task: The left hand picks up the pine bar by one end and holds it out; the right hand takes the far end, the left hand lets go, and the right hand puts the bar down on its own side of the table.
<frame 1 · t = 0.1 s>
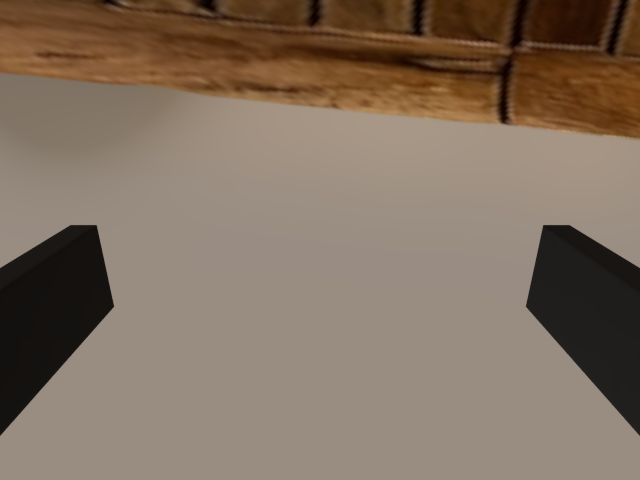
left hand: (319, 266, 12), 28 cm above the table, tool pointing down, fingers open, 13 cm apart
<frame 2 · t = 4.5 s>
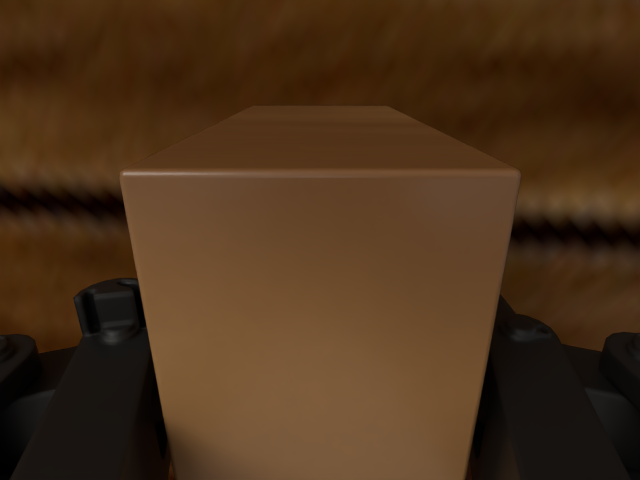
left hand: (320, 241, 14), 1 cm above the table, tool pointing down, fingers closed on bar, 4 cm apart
bar: (320, 415, 18), on the table, touching left hand
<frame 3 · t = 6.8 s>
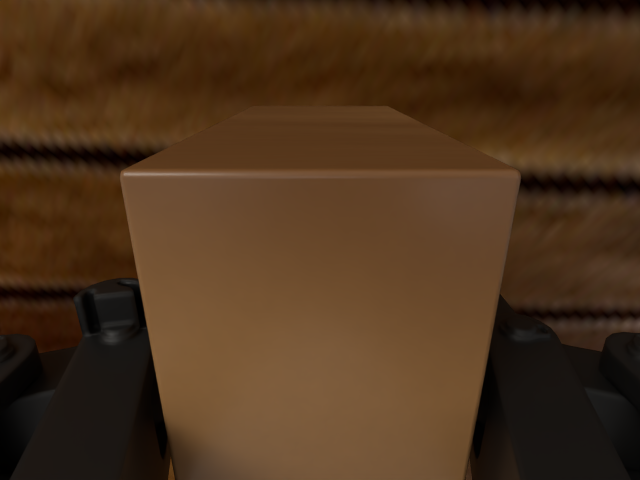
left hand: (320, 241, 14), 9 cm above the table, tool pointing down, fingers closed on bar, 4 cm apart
bar: (320, 415, 18), point 8 cm above the table, touching left hand
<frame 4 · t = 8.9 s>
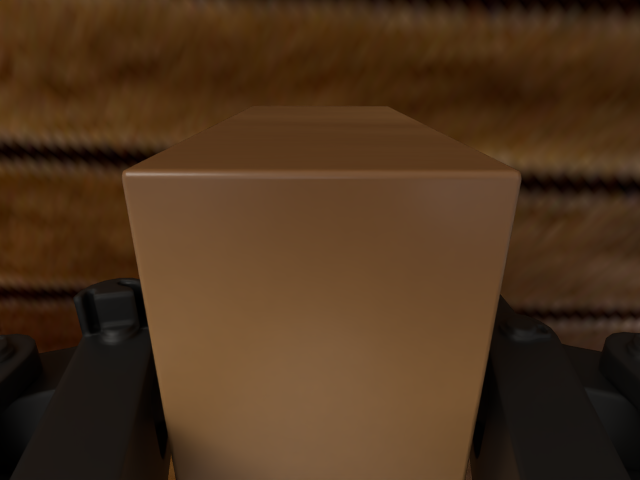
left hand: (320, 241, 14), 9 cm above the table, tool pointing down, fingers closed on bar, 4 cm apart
bar: (319, 415, 18), point 8 cm above the table, touching left hand, right hand
when the left hand's fingers open (9 cm above the table, at t = 9.6 s): bar stays where it is, held by the right hand.
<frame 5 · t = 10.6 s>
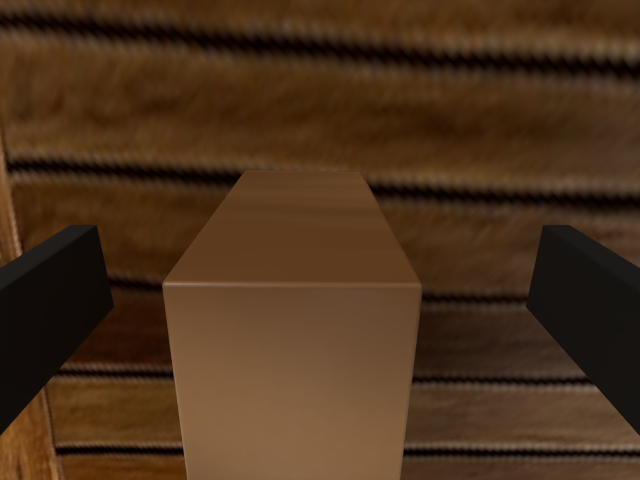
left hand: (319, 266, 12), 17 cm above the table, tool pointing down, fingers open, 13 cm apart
bar: (302, 430, 20), point 12 cm above the table, touching right hand
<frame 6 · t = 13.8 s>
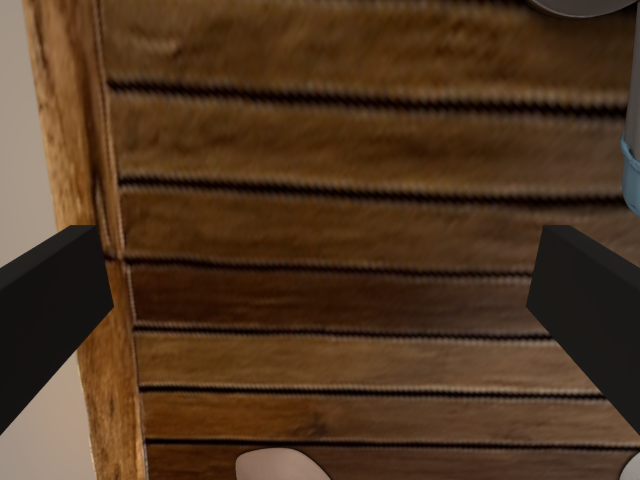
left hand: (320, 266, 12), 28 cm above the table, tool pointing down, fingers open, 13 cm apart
anatomical model: (283, 478, 55), on the table
when the right hand's fingers open (6 cm above the table, at t = 19.0 s): bar stays where it is, on the table.
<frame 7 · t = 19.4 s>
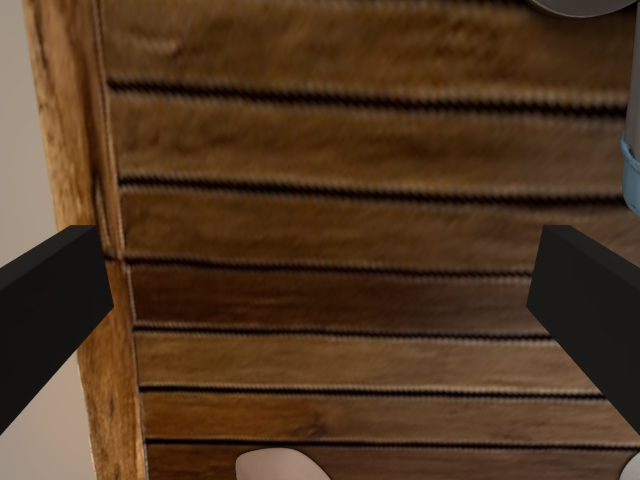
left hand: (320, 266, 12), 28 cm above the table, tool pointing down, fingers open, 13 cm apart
anatomical model: (283, 478, 55), on the table
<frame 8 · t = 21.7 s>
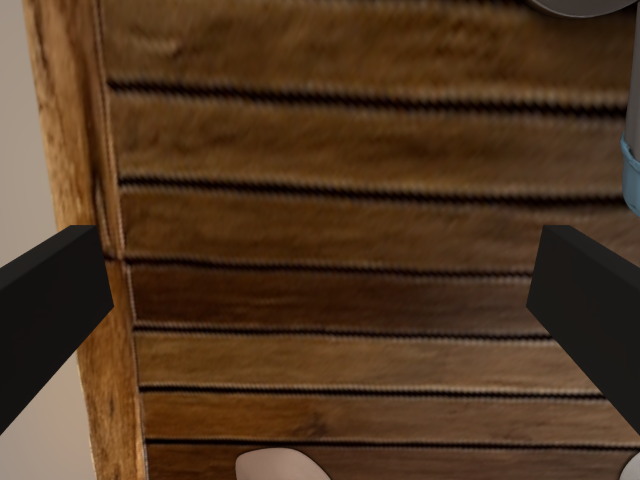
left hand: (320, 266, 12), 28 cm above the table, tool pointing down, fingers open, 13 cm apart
anatomical model: (283, 478, 55), on the table
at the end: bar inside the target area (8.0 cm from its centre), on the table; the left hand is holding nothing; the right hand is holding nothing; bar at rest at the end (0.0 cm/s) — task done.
